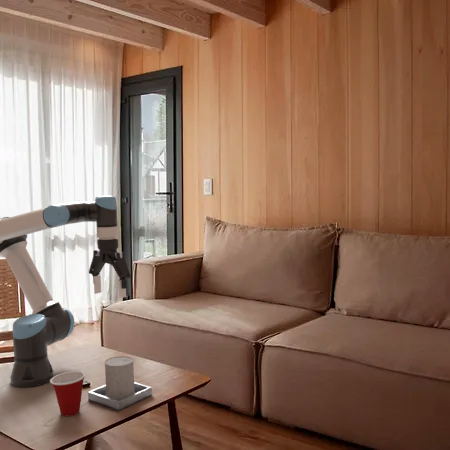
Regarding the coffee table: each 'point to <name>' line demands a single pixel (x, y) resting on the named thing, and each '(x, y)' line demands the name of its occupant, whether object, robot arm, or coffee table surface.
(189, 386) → the coffee table surface
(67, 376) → the plastic cup
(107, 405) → the grey square tray
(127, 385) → the speckled white cylinder
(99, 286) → the robot arm
